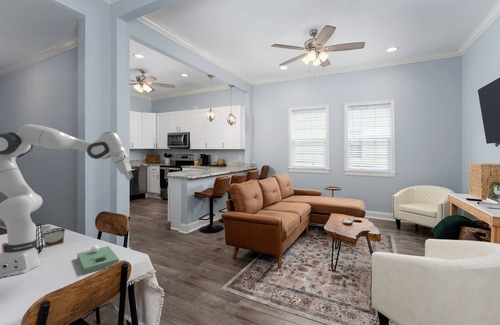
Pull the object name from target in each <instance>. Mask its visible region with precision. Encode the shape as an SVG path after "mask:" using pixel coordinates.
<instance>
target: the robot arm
mask: <svg viewBox="0 0 500 325" xmlns="http://www.w3.org/2000/svg"><path fill="white" fill-rule="evenodd" d="M34 146H38V147H42V148H48V149H53V150H63V149H64V150H70V149H71V150H76V151H82V152H86V153H87V155H88V156H89V157H90V158H92V159H95V160H106V159H109V158H111V161H112V163H113V164H114V165H115V167H116V168H117V170H118V172H119V173H120V174H121V175H124V177H125V178H126V180H127V181H131V179H133V178H134V176H133V173H132V170H133V169H132V166H131V164H130V162H129V160H128V159H129V158H130V156H129V154H128V152H127V150H126V149H125V147H124V146H123V142H122V140H121V138H120V136H119V134H118V133H117V132H114V131H108V132H106V131H105V132H103V133H101V134H100V136H99V137H98V138H97V139H96V140H95V141H93V142H92V141H89V140H88V141H87V140H84V139H80V138H77V137H74V136H72V135H70V134H67V133H64V132H62V131H60V130H58V129H56V128H54V127H53V128H52V127H49V126H44V125H39V124H34V123H32V124H31V123H28V124H27V123H25V124H23V125H22V126H20V127H19V130H18V132H13V131H10V132H9V131H8V132H4V133H0V192H1V193H2V194H3V195H5V196H6V197H7V198H6V199H5V200H2V201H1V202H0V219H1V220H2V221H3V223H4V225H5V228H6V232H7V233H6V234H7V242H4V243H2V244H1V249H2V252H1V253H0V277H1V278H4V277H3V276H6V277H11V275H12V276H17V275H21V274H25V273H27V272H29V271H30V270H32V269H35V268H36V267H39V266H40V265H41V264H42V261H41V259H40V257H39V251H38V248H39V242H38V241H39V240H37V238H36V227H37V226H36V224H35V223H34V222H33V220H32V218H31V214H32V213H33V212H35V211H37V210H38V209H39V208H40V207H41V206H42V205H43V198H42V196H41V195H40V194H38V193H36V192H35V191H34V190H33V189H32V188H31V186H29V185H28V183H27V182H26V181H25V178H24V176H23V174H22V172H21V171H20V168H19V166H18V163H17V162H16V159H17V158H21V157H23V156H25V155H26V154H29V153H30V152H31V151H32V150H33V148H34Z"/></svg>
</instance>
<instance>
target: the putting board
mask: <svg viewBox="0 0 500 325" xmlns="http://www.w3.org/2000/svg"><path fill="white" fill-rule="evenodd" d="M76 256H77V261H78V263H79V265H80V267H81V270H82V272H83V274H84V275H87V274H89V273H93V272H97V271H102V270H104V269H107V268H106V267H108V266H110V265H112V264H114V263H116V262H118V261H119V262H120V259H119V257H118V256H117V255H116V254H115V252H114V251H113V250H112V249H111V247H110V246H105V247H99V250H98V251H97V252H95V253H93V252H92V251H91V249H90V250H87V251H81V252H79V253H77V255H76ZM108 268H109V267H108Z"/></svg>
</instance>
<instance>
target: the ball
mask: <svg viewBox="0 0 500 325" xmlns="http://www.w3.org/2000/svg"><path fill="white" fill-rule="evenodd" d="M90 248H91V249H90V250H91V251H92V252H93V253H95V252H97V251H98V250H99V248H100V246H98V244H97V245H93V246H92V247H90Z"/></svg>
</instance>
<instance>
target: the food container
mask: <svg viewBox="0 0 500 325" xmlns="http://www.w3.org/2000/svg"><path fill="white" fill-rule="evenodd" d="M65 232H66V229H65V228H64V227H53V228H51V229H49V230H46V231H44V232H43V234H42V236H44V239H43V241H44V245H45V246H44V248H49V247H53V246H57V245H61V244H64V239H65Z"/></svg>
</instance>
